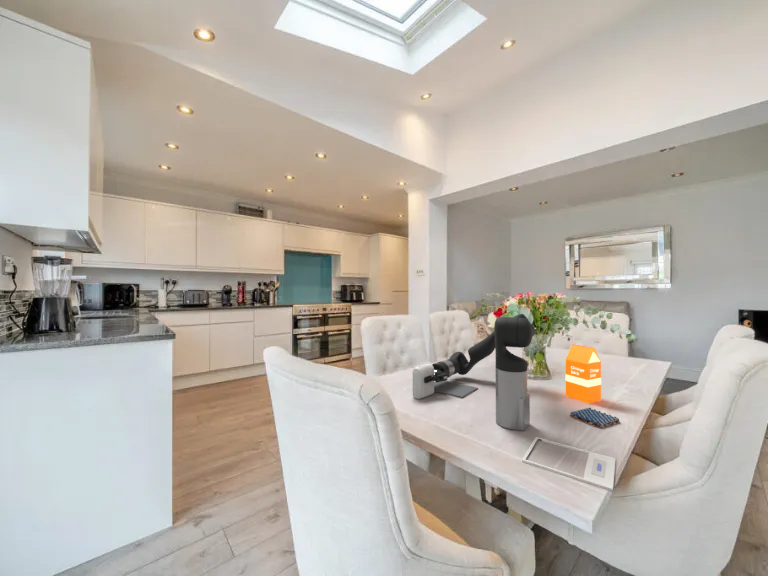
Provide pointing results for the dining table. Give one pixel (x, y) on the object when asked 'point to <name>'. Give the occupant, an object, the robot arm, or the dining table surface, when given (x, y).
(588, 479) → the photo frame
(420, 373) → the photo printer
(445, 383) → the charcoal mat
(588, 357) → the orange juice
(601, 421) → the woven mat
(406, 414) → the dining table surface
